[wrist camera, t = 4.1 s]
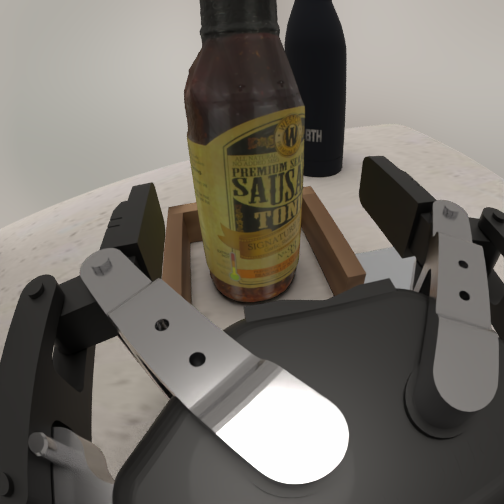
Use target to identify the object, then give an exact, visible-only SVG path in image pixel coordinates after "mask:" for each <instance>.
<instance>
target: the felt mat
mask: <svg viewBox="0 0 504 504" xmlns="http://www.w3.org/2000/svg"><path fill="white" fill-rule="evenodd" d="M355 255H356V257H357V259H358V260H359V262H360V264H361V265H362V267H363V269H364V270H365V272H366V277H365V281H364V284H365V283H369V282H374V281H378V280H383V279H387V278H390V280H391V281H392V283H393V285H394V286H395V288H400V289H408V290H410V284H411V278H412V271H413V264H414V262H415V259H416V257H415V256H413V257H408V258H403V259H402V258H401V256H400V255H399V254H398V252H397V251H396V250H395V248H394V247H391V248H385V249H380V250H375V251H369V252H364V253H359V254H355Z"/></svg>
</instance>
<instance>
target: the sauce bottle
mask: <svg viewBox="0 0 504 504" xmlns="http://www.w3.org/2000/svg"><path fill="white" fill-rule="evenodd" d="M200 8H201V9H200V10H201V11H200V14H201V25H202V27H201V30H200V35H201V39H202V49H201V50H200V52H199V53H198V55H197V57H196V59H195V61H194V62H193V64H192V66H191V68H190V69H189V75H188V78H187V82H186V86H185V90H184V103H185V109H186V115H187V116H186V117H187V122H188V132H187V141H188V148H189V156H190V163H191V170H192V176H193V183H194V189H195V196H196V202H197V209H198V215H199V222H200V227H201V233H202V239H203V245H204V251H205V256H206V261H207V265H208V267H209V269H210V275H211V278H212V279H213V282H214V284H215V285H216V287H217V289H218V290H219V291H220V292H221V293H222V294H224V295H225V296H227V297H229V298H231V299H233V300H236V301H243V302H258V301H263V300H267V299H270V298H273V297H275V296H278V295H279V294H280V293H282V292H284V291H285V290H286V289H287V287H288V286H289V284H290V283H291V280H292V279H293V277H294V273H295V270H296V266H297V264H298V260H299V248H300V233H301V212H302V195H303V166H304V128H305V106H304V103H303V101H302V98H301V95H300V92H299V90H298V87H297V84H296V81H295V78H294V75H293V72H292V69H291V67H290V64H289V61H288V59H287V56H286V53H285V51H284V48H283V45H282V43H281V40H280V38H279V33H280V29H279V25H278V23H277V4H276V0H200Z"/></svg>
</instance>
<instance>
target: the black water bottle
mask: <svg viewBox="0 0 504 504" xmlns="http://www.w3.org/2000/svg"><path fill="white" fill-rule="evenodd" d="M285 53H286V56H287V59H288V61H289V64H290V67H291V69H292V72H293V75H294V78H295V81H296V84H297V87H298V90H299V92H300V95H301V98H302V101H303V103H304V106H305V128H304V166H303V175H306V176H312V177H324V176H331V175H334V174H336V173H338V172H339V171H340V170H341V168H342V160H343V145H344V128H345V104H346V44H345V38H344V34H343V30H342V26H341V23H340V21H339V18H338V16H337V13H336V11H335V9H334V6H333V4H332V0H295V2H294V5H293V8H292V11H291V14H290V18H289V21H288V25H287V31H286V37H285Z"/></svg>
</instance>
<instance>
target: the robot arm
mask: <svg viewBox="0 0 504 504" xmlns="http://www.w3.org/2000/svg"><path fill="white" fill-rule="evenodd" d="M359 198H360V202H361V204H362V206H363V208H364V209H365V210H366V211H367V213H368V214H369V215H370V216H371V218H372V219H373V220H374V222H375V223H376V224H377V225H378V227H379V228H380V229H381V231H382V232H383V233H384V235H385V236H386V237H387V239H388V240H389V241H390V243H391V244H392V245H393V247H394V248H395V250H396V251H397V252H398V254H399V255H400V256H401V258H402V259H403V258H408V257H413V256H415V257H416V259H415V262H414V264H413V271H412V278H411V284H410V290H408V289H400V288H395V286H394V285H393V283H392V281H391V280H390V278H387V279H383V280H378V281H374V282H369V283H365V284H360V285H357V286H355V287H353V288H351V289H349V290H347V291H345V292H343V293H340V294H338V295H336V296H334V297H332V298H330V299H327V300H280V301H274V302H268V303H263V304H257V305H251V306H245V307H244V313H245V319H243V320H240V321H238V322H236V323H234V324H232V325H231V326H229V327H227V328H226V329H225V330H223V331H222V330H221V329H220V328H219V327H217V326H216V325H215V324H214V323H213V322H211V321H210V320H209V319H208V318H206V317H205V316H204V315H203V314H202V313H200V312H199V311H198V310H197V309H196V308H194V307H193V306H192V305H191V304H190V303H189V302H187V301H186V300H185V299H184V298H183V297H182V296H180V295H179V294H178V293H177V292H176V291H175V290H173V289H172V288H171V287H170V286H169V285H168V284H167V283H166V282H164V281H163V280H162V279H161V278H162V265H163V253H164V242H165V224H164V219H163V215H162V212H161V208H160V204H159V201H158V197H157V193H156V189H155V186H154V184H153V183H147V184H142V185H137V186H133V187H132V190H131V192H130V195H129V198H128V201H124V202H121V203H120V204H119V205H118V206H117V207H116V208H115V210H114V211H113V213H112V216H111V219H110V221H109V224H108V229H107V230H106V233H105V235H104V238H103V241H102V244H101V247H100V250H99V251H97V252H95V253H93V254H92V255H90V256H89V257H88V258H87V259H86V260H85V261H84V262H83V264H82V266H81V268H80V275H79V276H77V277H75V278H73V279H71V280H69V281H66V282H64V283H62V284H60V285H59V284H58V283H57V281H56V280H55V278H54V277H53V276H51V275H41V276H39V277H36V278H35V279H33V280H32V281H31V282H29V283H28V284H27V285H26V287H25V288H24V289H23V291H22V293H21V295H20V298H19V301H18V304H17V306H16V309H15V312H14V316H13V319H12V322H11V325H10V328H9V332H8V335H7V339H6V342H5V346H4V350H3V354H2V358H1V362H0V504H504V283H503V282H502V280H501V279H500V278H499V276H498V275H497V274H496V272H495V271H494V269H493V268H494V266H495V264H496V262H497V260H498V258H499V256H500V254H502V255H503V257H504V213H502V212H501V211H499V210H497V209H494V208H490V207H486V208H484V209H483V211H482V214H481V217H480V219H476V218H469V217H468V214H467V213H466V211H465V210H464V209H463V208H462V207H460V206H459V205H457V204H455V203H453V202H450V201H446V200H436V199H435V198H434V197H433V196H432V195H430V194H429V193H428V192H427V191H426V190H425V189H424V188H423V187H422V186H420V184H418V183H417V182H416V181H415V180H414V179H413V178H412V177H411V176H409V175H408V174H407V173H406V172H404V171H402V170H400V169H399V168H397V167H396V166H395V165H394V164H393V163H392V162H390V161H389V160H388V159H387V158H386V157H384V156H369V157H365V158H364V160H363V165H362V173H361V181H360V189H359ZM491 324H492V325H493V327H494V329H495V331H496V332H497V333H496V332H495V331H493V330H492V328H491ZM497 334H498V335H497ZM115 336H118V338H119V339H120V340H121V342H122V343H123V344H124V345H125V347H126V348H127V349H128V351H129V352H130V353H131V354H132V356H133V357H134V358H135V359H136V361H137V362H138V363H139V364H140V365H141V367H142V368H143V369H144V370H145V371H146V373H147V374H148V375H149V376H150V378H151V379H152V380H153V381H154V382H155V384H156V385H157V386H158V387H159V388H160V390H161V391H162V392H163V393H164V394H165V395H166V396H167V398H168V399H169V401H168V403H167V404H166V406H165V407H164V409H163V410H162V411H161V413H160V414H159V416H158V417H157V418H156V420H155V421H154V423H153V424H152V426H151V427H150V428H149V430H148V431H147V433H146V434H145V435H144V437H143V438H142V440H141V441H140V442H139V444H138V445H137V447H136V448H135V449H134V451H133V452H132V454H131V455H130V456H129V458H128V459H127V461H126V462H125V463H124V465H123V466H122V468H121V469H120V471H119V472H118V474H117V477H116V479H115V480H114V479H113V478H112V476H111V474H110V473H109V470H108V467H107V463H106V459H105V456H104V454H103V452H102V451H101V450H100V448H98V447H97V446H96V445H95V444H93V443H92V436H91V416H92V385H93V369H94V356H95V346H96V344H98V343H101V342H103V341H106V340H108V339H110V338H113V337H115ZM498 336H499V337H498ZM54 346H55V347H54ZM53 347H54V352H53ZM52 353H53V358H52Z"/></svg>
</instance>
